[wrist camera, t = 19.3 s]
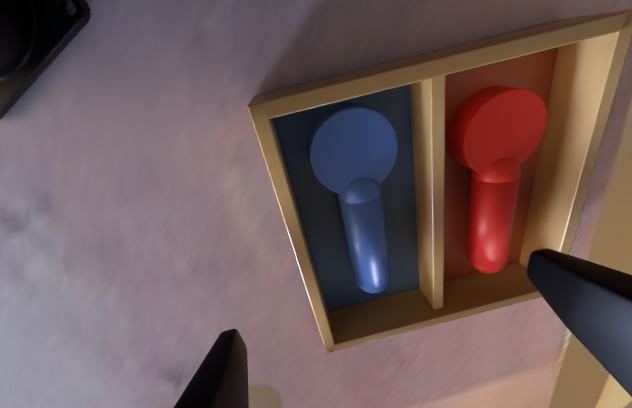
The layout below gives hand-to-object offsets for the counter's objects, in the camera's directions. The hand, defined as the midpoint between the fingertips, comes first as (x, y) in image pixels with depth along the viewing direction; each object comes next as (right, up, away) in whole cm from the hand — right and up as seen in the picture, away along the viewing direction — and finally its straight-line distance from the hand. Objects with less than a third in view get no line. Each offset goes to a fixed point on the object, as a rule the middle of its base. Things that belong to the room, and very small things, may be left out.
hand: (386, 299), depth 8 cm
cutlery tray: (+3, +3, +7) cm, 9 cm away
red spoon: (+7, +4, +7) cm, 10 cm away
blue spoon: (0, +3, +6) cm, 7 cm away
